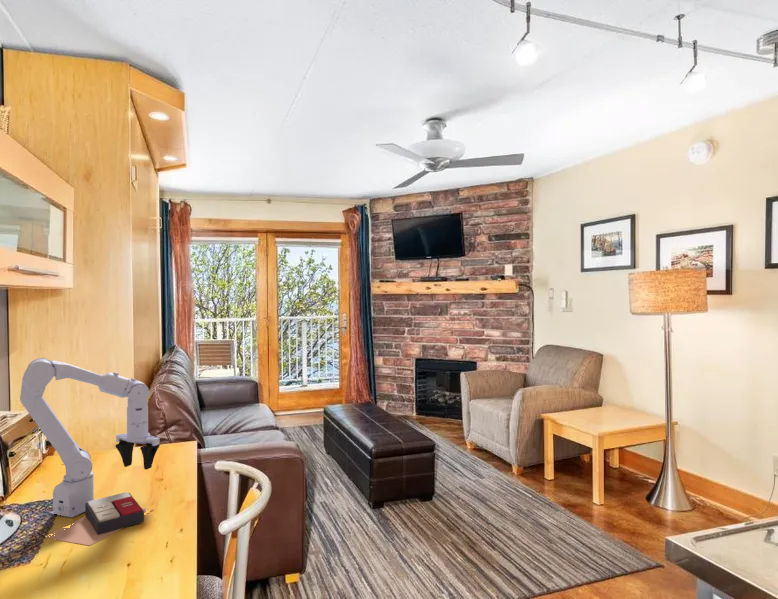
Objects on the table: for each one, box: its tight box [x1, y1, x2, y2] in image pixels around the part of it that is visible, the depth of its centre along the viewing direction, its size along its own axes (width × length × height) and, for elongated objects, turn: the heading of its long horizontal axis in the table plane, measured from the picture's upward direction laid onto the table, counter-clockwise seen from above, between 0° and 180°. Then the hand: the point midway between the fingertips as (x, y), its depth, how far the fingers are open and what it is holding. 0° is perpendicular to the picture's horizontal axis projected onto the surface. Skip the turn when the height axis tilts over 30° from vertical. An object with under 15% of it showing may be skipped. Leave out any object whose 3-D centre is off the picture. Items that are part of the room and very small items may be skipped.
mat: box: [45, 507, 150, 547], centre depth 133 cm, size 21×15×1 cm
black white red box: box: [84, 491, 145, 535], centre depth 135 cm, size 11×4×15 cm
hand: (137, 467), depth 150 cm, fingers open, 7 cm apart
